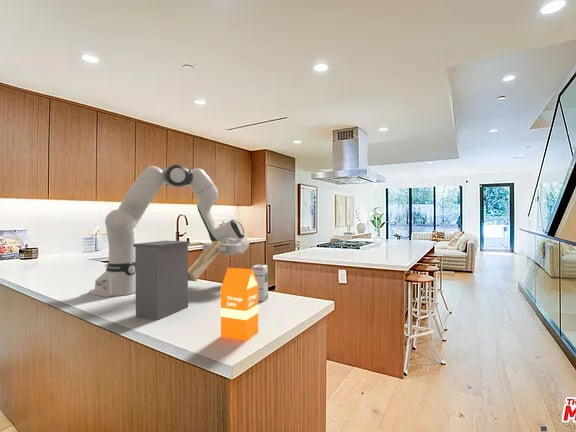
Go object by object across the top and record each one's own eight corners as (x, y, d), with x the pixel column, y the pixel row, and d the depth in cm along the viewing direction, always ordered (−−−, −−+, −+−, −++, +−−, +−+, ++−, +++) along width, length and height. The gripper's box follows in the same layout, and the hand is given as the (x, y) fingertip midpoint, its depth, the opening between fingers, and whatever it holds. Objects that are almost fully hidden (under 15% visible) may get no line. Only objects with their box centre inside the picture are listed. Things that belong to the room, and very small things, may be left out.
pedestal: (133, 316, 113) (133, 244, 113) (165, 304, 128) (165, 240, 128) (159, 320, 109) (159, 245, 109) (190, 307, 124) (189, 241, 123)
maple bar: (188, 280, 134) (185, 273, 133) (215, 247, 154) (213, 240, 152) (196, 281, 133) (192, 273, 131) (222, 247, 152) (220, 241, 150)
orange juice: (246, 341, 91) (246, 271, 91) (220, 336, 94) (220, 269, 94) (258, 331, 98) (258, 267, 98) (234, 327, 101) (233, 265, 101)
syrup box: (264, 301, 132) (264, 266, 132) (251, 300, 134) (251, 266, 134) (268, 297, 138) (268, 264, 138) (255, 297, 139) (255, 264, 139)
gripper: (211, 239, 165) (194, 242, 152) (246, 240, 157) (231, 243, 145) (211, 252, 165) (194, 255, 152) (246, 253, 157) (231, 257, 145)
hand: (213, 249), depth 148 cm, fingers closed on maple bar, 4 cm apart
